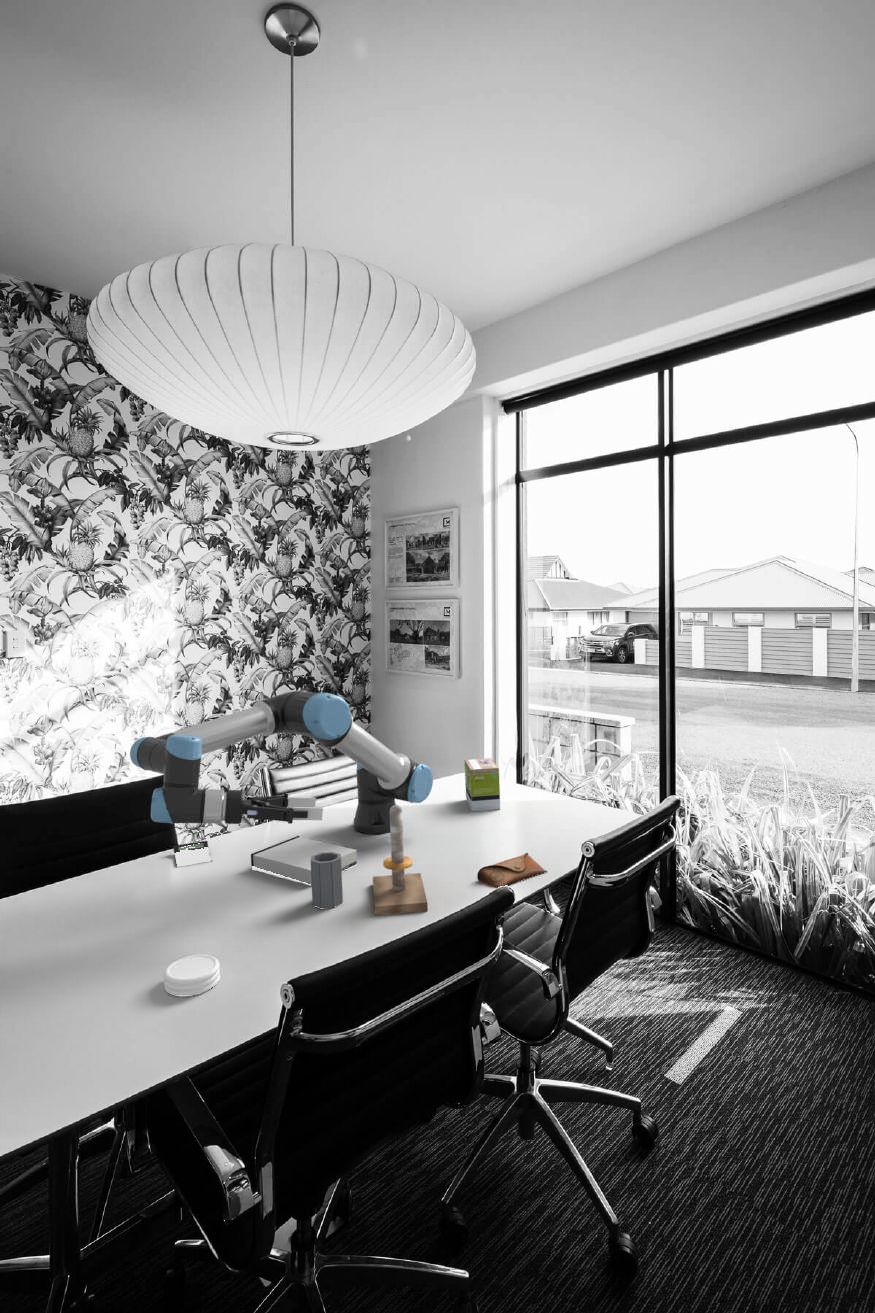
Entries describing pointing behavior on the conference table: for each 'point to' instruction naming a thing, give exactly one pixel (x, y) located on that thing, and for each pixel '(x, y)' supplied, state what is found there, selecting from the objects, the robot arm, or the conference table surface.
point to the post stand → (398, 876)
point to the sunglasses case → (509, 871)
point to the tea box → (482, 784)
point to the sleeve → (326, 879)
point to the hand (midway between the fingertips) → (318, 808)
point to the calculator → (196, 845)
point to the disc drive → (298, 857)
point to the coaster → (192, 975)
